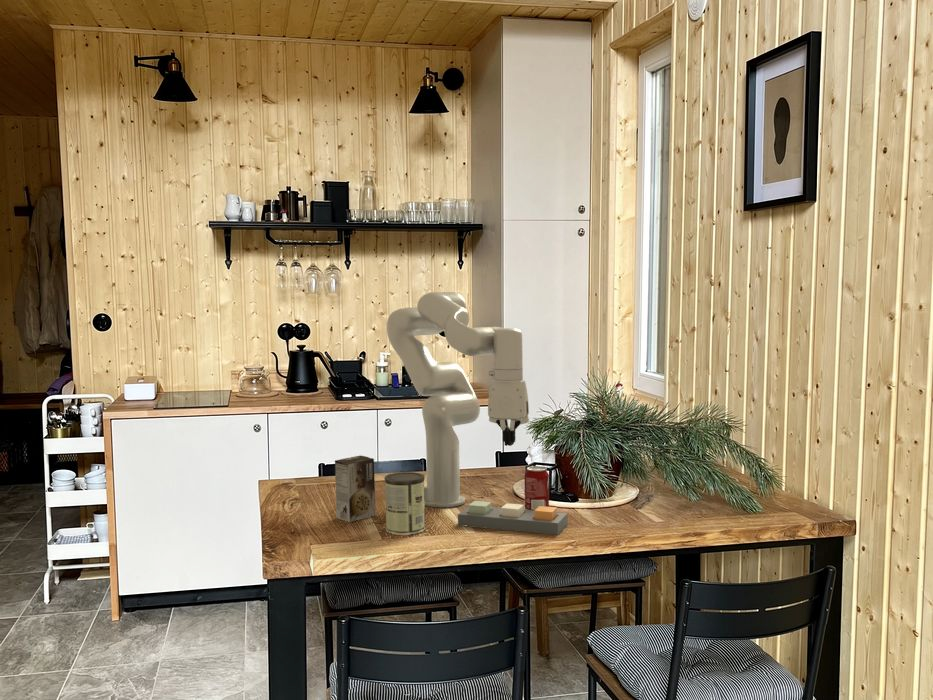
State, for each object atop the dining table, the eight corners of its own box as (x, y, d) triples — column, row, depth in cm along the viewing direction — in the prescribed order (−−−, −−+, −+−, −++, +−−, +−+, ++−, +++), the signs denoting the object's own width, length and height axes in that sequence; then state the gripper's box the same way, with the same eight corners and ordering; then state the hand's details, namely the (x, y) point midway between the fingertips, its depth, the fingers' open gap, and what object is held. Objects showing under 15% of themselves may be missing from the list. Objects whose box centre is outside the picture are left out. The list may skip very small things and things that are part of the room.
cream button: (501, 517, 230) (501, 507, 230) (506, 512, 235) (506, 503, 235) (518, 518, 229) (518, 509, 229) (524, 514, 233) (524, 504, 233)
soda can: (547, 514, 242) (547, 471, 241) (523, 513, 244) (522, 470, 243) (550, 508, 249) (550, 466, 248) (526, 507, 250) (526, 465, 249)
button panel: (457, 525, 232) (457, 514, 232) (471, 515, 241) (470, 505, 241) (557, 534, 223) (557, 523, 222) (567, 524, 232) (567, 513, 232)
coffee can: (392, 523, 235) (391, 471, 234) (429, 525, 232) (429, 472, 231) (380, 534, 225) (379, 479, 224) (419, 536, 222) (418, 481, 221)
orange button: (534, 520, 227) (534, 510, 227) (539, 515, 232) (539, 506, 232) (552, 521, 226) (552, 512, 225) (557, 517, 230) (557, 507, 230)
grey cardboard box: (361, 511, 247) (360, 454, 246) (376, 516, 242) (375, 458, 241) (335, 518, 241) (333, 459, 239) (349, 522, 236) (348, 463, 235)
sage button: (468, 514, 234) (468, 505, 233) (474, 509, 238) (474, 500, 238) (485, 515, 232) (485, 506, 232) (491, 511, 236) (491, 502, 236)
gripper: (476, 376, 230) (477, 446, 232) (531, 377, 225) (532, 448, 226) (486, 373, 237) (487, 441, 239) (539, 374, 232) (540, 443, 233)
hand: (509, 444), depth 233 cm, fingers closed
